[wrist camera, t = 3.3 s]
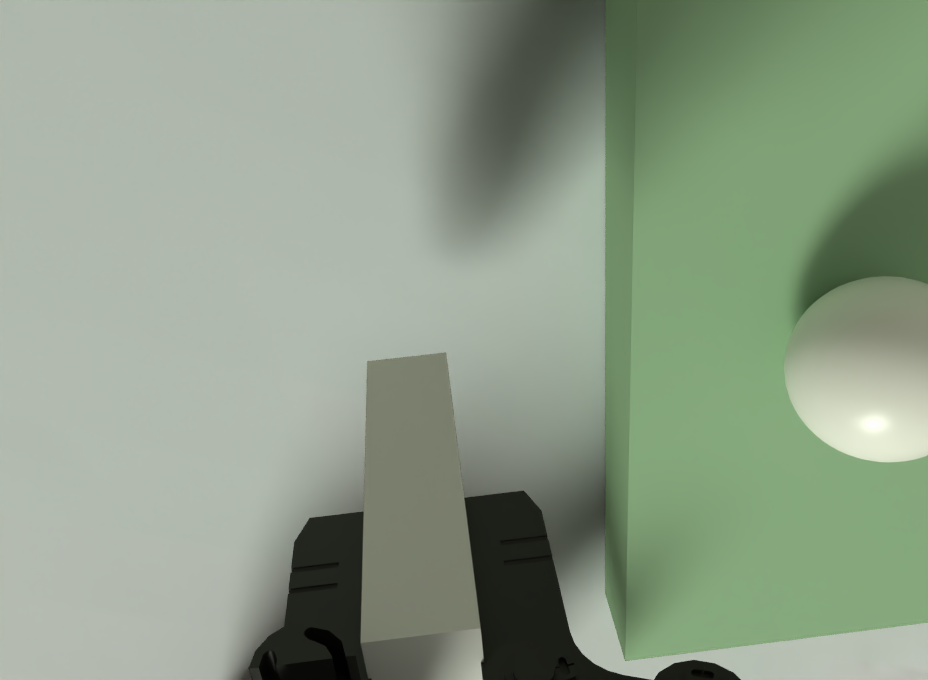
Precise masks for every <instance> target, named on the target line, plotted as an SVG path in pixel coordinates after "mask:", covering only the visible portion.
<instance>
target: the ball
mask: <svg viewBox="0 0 928 680" xmlns="http://www.w3.org/2000/svg"><path fill="white" fill-rule="evenodd" d="M784 374H785V383H786V388H787V391H788V395H789V398H790V401H791V403H792V405H793V407H794V409H795V410H796V412H797V414H798V416H799V417H800V418H801V420H802V421H803V422H804V424H805V425H806V426H807V427H808V428H809V429H810V430H811V431H812V432H813V433H814V434H815V435H816V436H817V437H818V438H820V439H821V440H822V441H823V442H825V443H826V444H828V445H829V446H831V447H833V448H835V449H836V450H838V451H840V452H843V453H845V454H847V455H850V456H853V457H856V458H860V459H863V460H869V461H876V462H903V461H910V460H915V459H919V458H922V457H925V456H928V284H926V283H923V282H921V281H917V280H913V279H908V278H903V277H893V276H879V277H869V278H863V279H859V280H856V281H852V282H849V283H846V284H844V285H841V286H839V287H837V288H835V289H833V290H831V291H829V292H828V293H826V294H825V295H823V296H822V297H820V298H819V299H818V300H817V301H815V302H814V303H813V304H812V305H811V306H810V307H809V308H808V309H807V310H806V311H805V313H804V314H803V315H802V316H801V318H800V319H799V321H798V322H797V324H796V326H795V328H794V330H793V332H792V334H791V336H790V338H789V341H788V344H787V348H786V353H785V359H784Z"/></svg>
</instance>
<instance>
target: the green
mask: <svg viewBox="0 0 928 680" xmlns="http://www.w3.org/2000/svg"><path fill="white" fill-rule="evenodd" d="M879 276H893V277H903V278H908V279H913V280H917V281H921V282H923V283H926V284H928V0H606V330H605V594H606V597H607V601H608V604H609V608H610V611H611V614H612V618H613V621H614V625H615V628H616V631H617V635H618V638H619V642H620V645H621V648H622V652H623V655H624V659H625V661H629V660H637V659H645V658H653V657H661V656H669V655H676V654H684V653H692V652H700V651H708V650H716V649H724V648H731V647H739V646H747V645H755V644H763V643H771V642H779V641H786V640H794V639H802V638H810V637H818V636H826V635H833V634H841V633H849V632H857V631H865V630H873V629H881V628H888V627H896V626H904V625H912V624H920V623H928V456H925V457H922V458H919V459H915V460H910V461H903V462H876V461H869V460H863V459H860V458H856V457H853V456H850V455H847V454H845V453H843V452H840V451H838V450H836V449H835V448H833V447H831V446H829V445H828V444H826V443H825V442H823V441H822V440H821V439H820V438H818V437H817V436H816V435H815V434H814V433H813V432H812V431H811V430H810V429H809V428H808V427H807V426H806V425H805V424H804V422H803V421H802V420H801V418H800V417H799V416H798V414H797V412H796V410H795V409H794V407H793V405H792V403H791V401H790V398H789V395H788V391H787V388H786V383H785V374H784V359H785V353H786V348H787V344H788V341H789V338H790V336H791V334H792V332H793V330H794V328H795V326H796V324H797V322H798V321H799V319H800V318H801V316H802V315H803V314H804V313H805V311H806V310H807V309H808V308H809V307H810V306H811V305H812V304H813V303H814V302H815V301H817V300H818V299H819V298H820V297H822V296H823V295H825V294H826V293H828V292H829V291H831V290H833V289H835V288H837V287H839V286H841V285H844V284H846V283H849V282H852V281H856V280H859V279H863V278H869V277H879Z"/></svg>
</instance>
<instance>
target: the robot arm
mask: <svg viewBox="0 0 928 680" xmlns="http://www.w3.org/2000/svg"><path fill="white" fill-rule="evenodd" d="M291 569H292V573H291V575H290V583H289V594H288V600H287V608H286V617H285V625H284V627H283V628H281V629H280V630H278V631H277V632H275V633H273V634H272V635H270V636H269V637H268V638H267V639H266V640H265V641H264V642H263V643H262V644H261V646H260V647H259V648H258V649H257V650H256V651H255V654H254V656H253V659H252V662H251V664H250V667H249V671H250V674H251V677H252V680H649V679H643V678H637V677H631V676H625V675H621V674H617V673H614V672H610V671H607V670H605V669H603V668H601V667H599V666H597V665H596V664H594V663H593V662H591V661H590V660H589V659H588V658H587V657H585V656H584V655H583V654H582V653H581V651H580V650H579V649H578V647H577V646H576V645H575V643H574V641H573V638H572V636H571V633H570V630H569V626H568V622H567V617H566V613H565V609H564V605H563V600H562V596H561V592H560V588H559V583H558V579H557V575H556V571H555V566H554V562H553V560H552V554H551V550H550V545H549V541H548V539H547V533H546V528H545V524H544V520H543V516H542V511H541V510H540V509H539V507H538V506H537V505H536V504H535V503H534V502H533V501H532V500H531V498H530V497H529V496H528V495H527V494H526V493H525V492H524V491H518V492H509V493H501V494H492V495H484V496H475V497H467V498H464V492H463V484H462V476H461V468H460V460H459V452H458V444H457V436H456V428H455V420H454V412H453V404H452V396H451V388H450V380H449V372H448V364H447V356H446V353H438V354H429V355H420V356H411V357H403V358H394V359H385V360H376V361H367V394H366V436H365V478H364V512H357V513H348V514H340V515H332V516H323V517H315V518H310V519H309V520H308V522H307V523H306V525H305V526H304V528H303V530H302V531H301V533H300V534H299V536H298V537H297V539H296V540H295V542H294V550H293V558H292V567H291ZM654 680H741V679H740V678H738V677H737V676H736V675H735V674H734V673H733V672H731V671H729V670H727V669H725V668H723V667H721V666H719V665H717V664H715V663H709V662H703V661H697V660H691V661H685V662H679V663H674V664H672V665H671V666H669V667H667V668H666V669H664V670H662V671H660V672H659V673H658V675H657V676H656V678H655V679H654Z"/></svg>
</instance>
